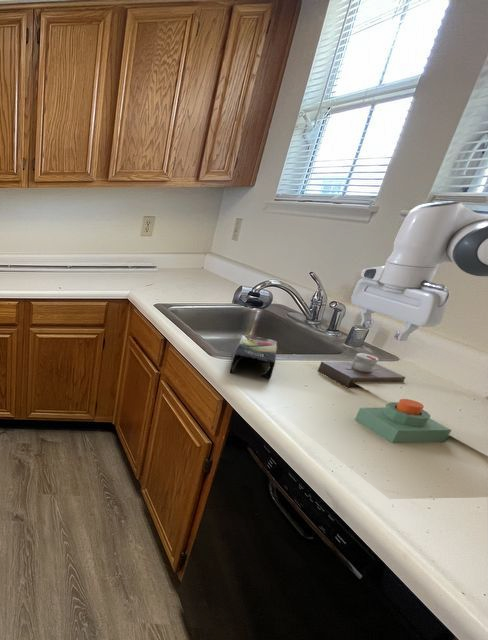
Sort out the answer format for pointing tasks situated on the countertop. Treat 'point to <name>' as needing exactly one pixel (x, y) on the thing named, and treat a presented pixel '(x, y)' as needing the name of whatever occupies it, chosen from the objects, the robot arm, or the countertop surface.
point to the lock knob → (364, 362)
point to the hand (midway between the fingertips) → (382, 333)
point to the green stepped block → (402, 425)
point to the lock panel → (356, 374)
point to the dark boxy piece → (256, 352)
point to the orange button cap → (410, 406)
